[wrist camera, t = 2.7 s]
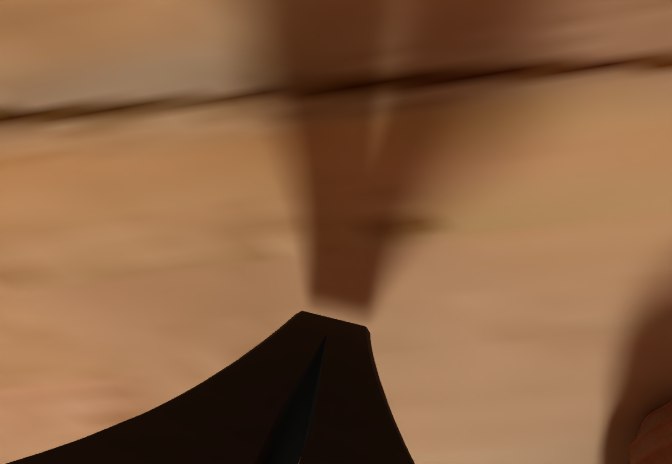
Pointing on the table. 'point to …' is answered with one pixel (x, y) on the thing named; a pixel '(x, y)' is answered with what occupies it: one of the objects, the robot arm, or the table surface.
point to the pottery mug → (654, 438)
